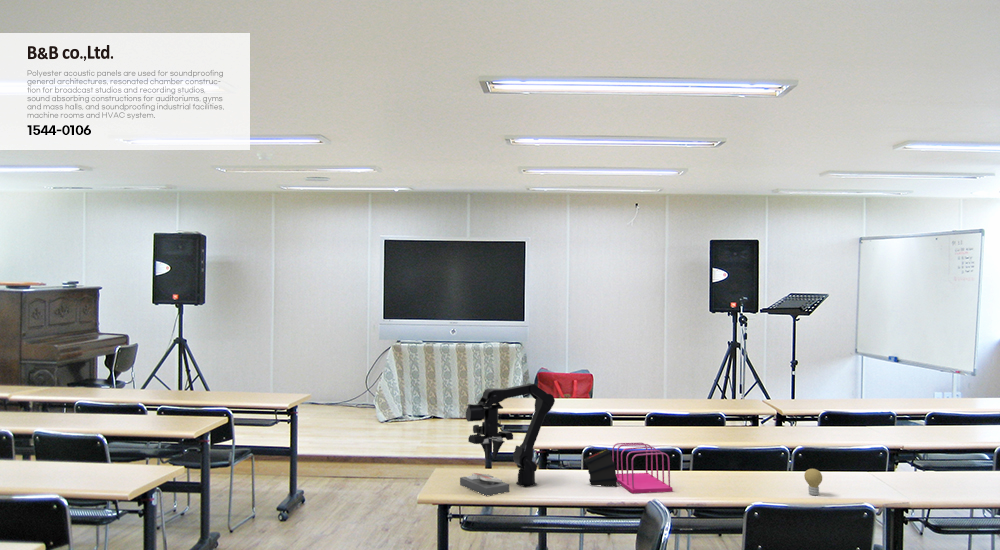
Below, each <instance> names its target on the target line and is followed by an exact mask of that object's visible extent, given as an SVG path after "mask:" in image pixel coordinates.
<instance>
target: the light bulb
mask: <svg viewBox="0 0 1000 550" xmlns="http://www.w3.org/2000/svg"><path fill="white" fill-rule="evenodd" d="M804 480H805V482H806V483H807V484H808V487H807V488H808V494H809V495H811V496H818V495H820V488H819V485H821V483H822V482H823V475H822V472H821V471H820V470H818V469H816V468H809V469H807V470H805V472H804Z"/></svg>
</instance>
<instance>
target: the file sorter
mask: <svg viewBox="0 0 1000 550" xmlns="http://www.w3.org/2000/svg"><path fill="white" fill-rule="evenodd" d="M617 445H618V447H617V449H616V476H617V482H619V483H620V484H621V485H620V484H619V483H618V484H619V485H620V486H622V487H623V488H624V489H626V490H627V491H628V492H629V493H631V494H647V493H673V487H672V486H671V470H670V469H671V468H670V467H671V466H670V465H671V463H670V462H671V461H670V456H669V455H668V454H667V453H665V452H662V450H660V449H656V447H653V446H651V445H650V444H648V443H644V442H617V443H615V444H614V445H613V446H612V455H611V457H612V460H613V462H614V463H615V460H614V459H615V455H614V454H615V447H616V446H617ZM628 446H632V447H628ZM633 446H634V447H633ZM635 446H636V447H635ZM639 446H640V447H639ZM621 447H625V448H623V449H622V451H621V453H620V467H621V473H619V449H620V448H621ZM626 447H627V448H626ZM639 449H640V450H639ZM641 449H642V450H641ZM643 449H644V450H643ZM628 450H629V451H630V450H632V451H630V452H628V453H627V455H626V457H625V459H626V460H625V461H626V462H625V463H626V473H624V468H623V454H624V452H625V451H628ZM633 453H637V454H634V455H633V456H632V458H631V473H630V472H629V455H631V454H633ZM658 455H661V465H662V467H661V468H662V469H661V470H662V471H661V472H662V473H661V474H662V480H661V479H659V464H658V462H659V461H658V458H659V457H658ZM664 455H665V456H666V458H667V478H668V483H666V482H665V465H664V464H665V462H664V461H665V459H664ZM639 456H645V472H635V473H634V459H635V458H636V457H639ZM648 456H650V470H651V471H650V473H649V472H648ZM653 456H655V463H656V465H655V466H656V476H653V475H654V474H653V473H654V471H653V469H654V468H653V463H654V461H653Z"/></svg>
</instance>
